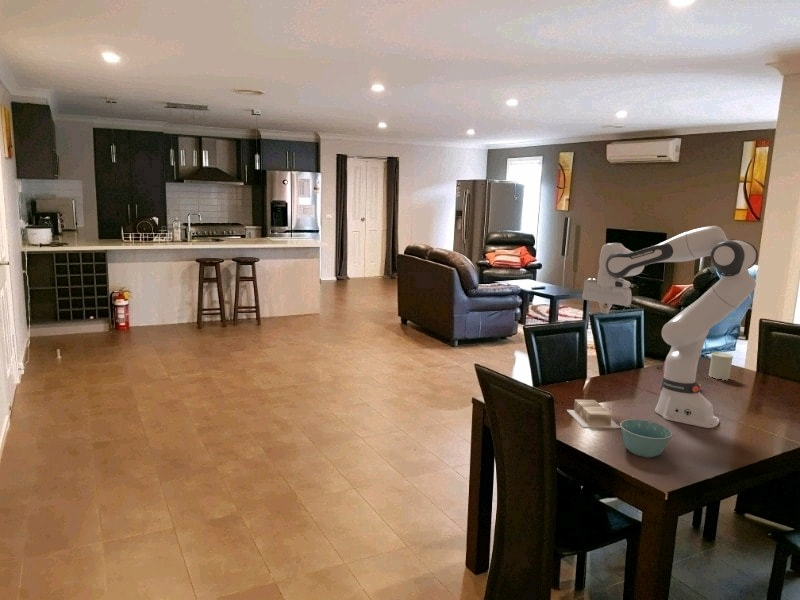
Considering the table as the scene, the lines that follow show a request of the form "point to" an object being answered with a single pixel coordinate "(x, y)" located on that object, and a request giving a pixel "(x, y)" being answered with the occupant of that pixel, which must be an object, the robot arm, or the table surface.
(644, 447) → the bowl
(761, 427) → the table surface
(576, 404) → the birch block
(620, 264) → the robot arm
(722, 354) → the can
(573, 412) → the mat
